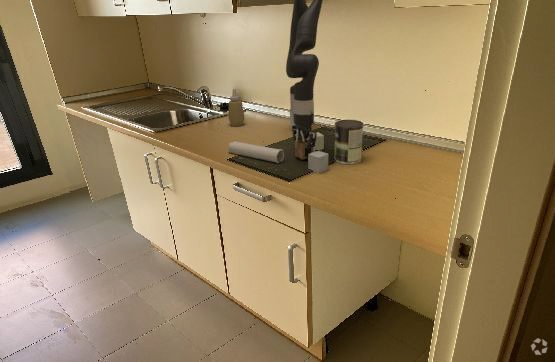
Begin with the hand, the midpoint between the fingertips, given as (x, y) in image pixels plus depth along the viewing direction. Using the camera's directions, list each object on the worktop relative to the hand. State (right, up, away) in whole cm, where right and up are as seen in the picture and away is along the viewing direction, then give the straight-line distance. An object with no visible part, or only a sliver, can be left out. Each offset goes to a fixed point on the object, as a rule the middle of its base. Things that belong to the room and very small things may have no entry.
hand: (303, 154), depth 147 cm
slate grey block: (+4, -6, -10) cm, 13 cm away
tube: (-19, -1, +4) cm, 20 cm away
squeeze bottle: (-31, +18, +47) cm, 59 cm away
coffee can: (+16, -2, -2) cm, 17 cm away
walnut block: (0, -1, 0) cm, 1 cm away
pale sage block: (+6, +3, +10) cm, 12 cm away
